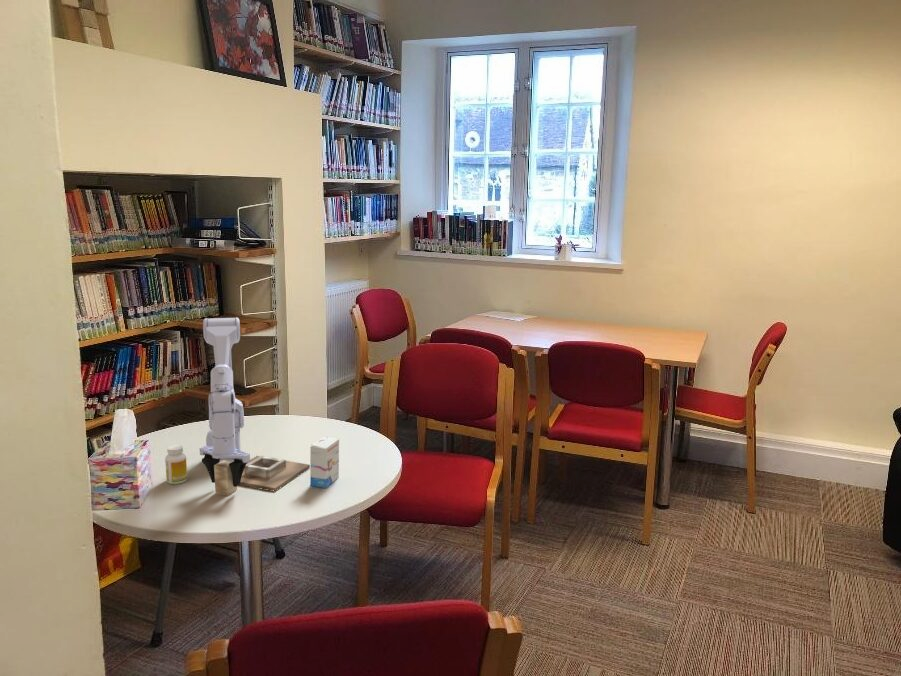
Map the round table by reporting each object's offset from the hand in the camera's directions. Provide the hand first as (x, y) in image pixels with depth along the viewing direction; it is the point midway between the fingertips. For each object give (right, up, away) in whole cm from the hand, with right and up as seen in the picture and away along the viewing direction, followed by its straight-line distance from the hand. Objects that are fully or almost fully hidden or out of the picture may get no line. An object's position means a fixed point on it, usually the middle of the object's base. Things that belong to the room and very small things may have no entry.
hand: (226, 483), depth 197 cm
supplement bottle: (-16, -1, +7) cm, 17 cm away
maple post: (0, -2, +1) cm, 2 cm away
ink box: (+25, -1, +8) cm, 27 cm away
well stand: (+8, 0, +12) cm, 15 cm away
